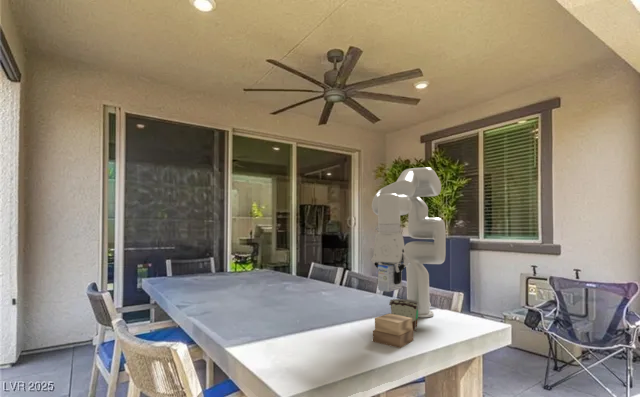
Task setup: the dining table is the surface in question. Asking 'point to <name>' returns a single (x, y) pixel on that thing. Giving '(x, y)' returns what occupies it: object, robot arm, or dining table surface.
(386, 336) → the tower base block
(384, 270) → the medicine box
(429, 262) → the robot arm
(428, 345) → the dining table surface
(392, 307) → the food container
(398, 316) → the tower top block
